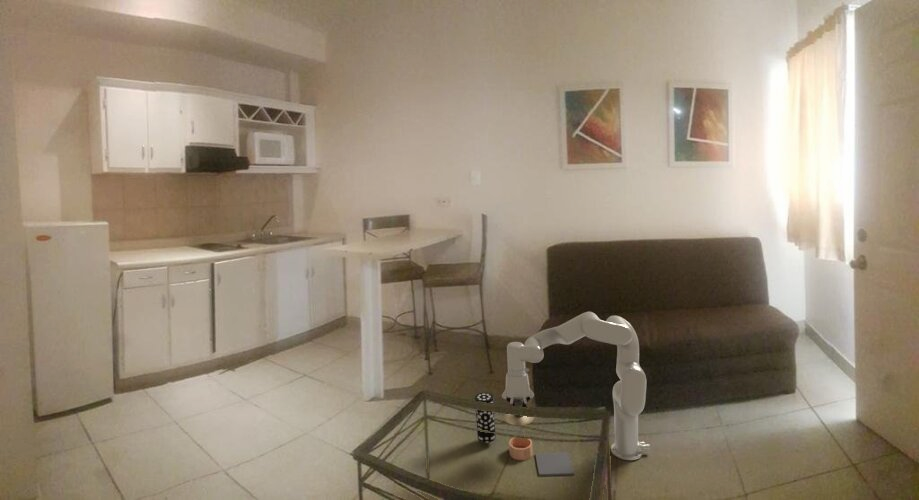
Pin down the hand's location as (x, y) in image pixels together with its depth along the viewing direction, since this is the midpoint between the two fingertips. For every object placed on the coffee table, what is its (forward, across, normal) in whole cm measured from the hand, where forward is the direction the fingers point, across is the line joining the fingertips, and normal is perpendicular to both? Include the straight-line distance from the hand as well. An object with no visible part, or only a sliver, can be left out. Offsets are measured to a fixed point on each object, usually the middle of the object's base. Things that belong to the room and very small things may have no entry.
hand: (518, 410), depth 193 cm
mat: (+20, -13, +8) cm, 25 cm away
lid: (+3, 0, 0) cm, 3 cm away
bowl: (+20, 0, 0) cm, 20 cm away
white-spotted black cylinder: (+18, +15, -8) cm, 24 cm away
